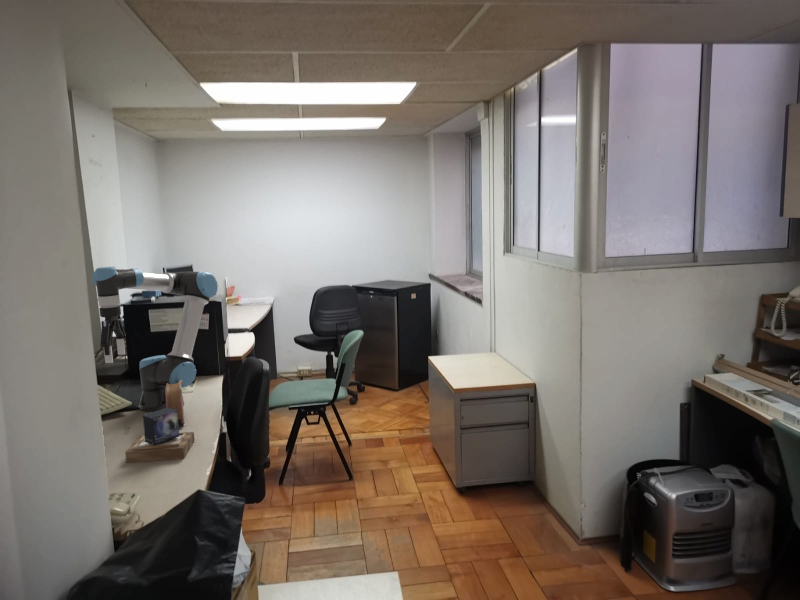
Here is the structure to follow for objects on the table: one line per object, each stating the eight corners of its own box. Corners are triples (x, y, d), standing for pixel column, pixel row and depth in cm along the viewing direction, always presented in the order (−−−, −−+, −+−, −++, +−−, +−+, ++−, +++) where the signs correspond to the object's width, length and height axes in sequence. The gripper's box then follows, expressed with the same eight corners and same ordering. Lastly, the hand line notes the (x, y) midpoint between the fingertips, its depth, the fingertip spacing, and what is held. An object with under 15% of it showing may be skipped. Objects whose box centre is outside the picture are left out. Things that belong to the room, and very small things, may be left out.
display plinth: (141, 445, 230) (139, 433, 229) (194, 441, 232) (193, 429, 231) (126, 462, 214) (124, 450, 213) (184, 458, 216) (182, 445, 215)
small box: (154, 446, 216) (151, 418, 214) (144, 442, 220) (141, 414, 218) (180, 436, 224) (177, 409, 223) (170, 433, 228) (167, 406, 227)
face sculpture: (186, 428, 246) (183, 389, 244) (168, 431, 244) (164, 391, 242) (185, 413, 265) (182, 377, 262) (168, 416, 263) (165, 379, 260)
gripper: (111, 302, 249) (117, 351, 253) (86, 311, 225) (93, 367, 228) (130, 301, 250) (135, 350, 253) (107, 310, 226) (113, 365, 229)
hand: (115, 358), depth 241 cm, fingers open, 13 cm apart
